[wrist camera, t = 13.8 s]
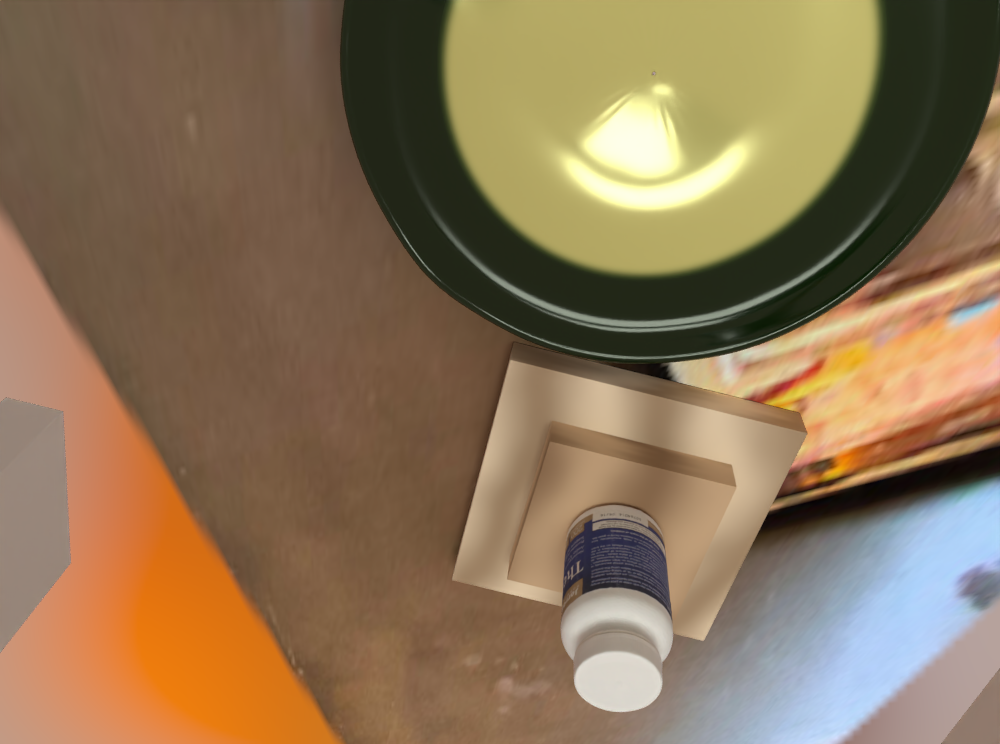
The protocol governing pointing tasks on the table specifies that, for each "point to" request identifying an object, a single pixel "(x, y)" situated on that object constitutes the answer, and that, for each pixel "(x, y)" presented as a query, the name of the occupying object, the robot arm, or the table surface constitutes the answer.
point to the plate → (662, 155)
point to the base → (640, 420)
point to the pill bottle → (616, 607)
